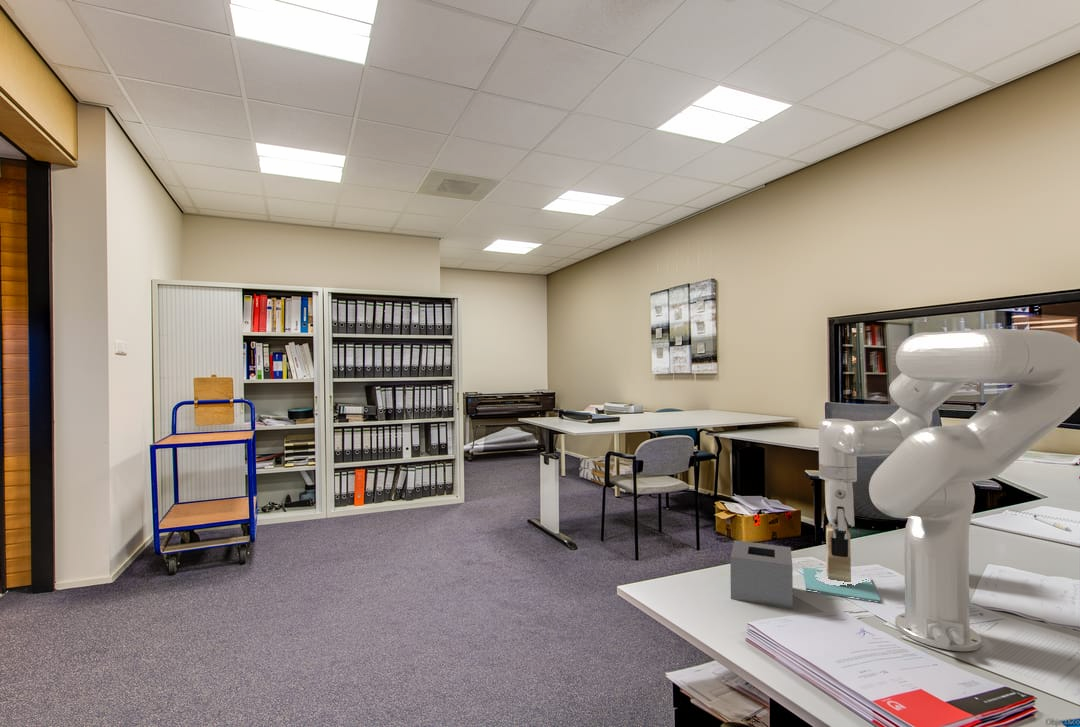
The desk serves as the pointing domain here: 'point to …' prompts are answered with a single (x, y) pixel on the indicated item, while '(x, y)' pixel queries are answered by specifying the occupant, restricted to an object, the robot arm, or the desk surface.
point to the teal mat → (840, 587)
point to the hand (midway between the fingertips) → (838, 551)
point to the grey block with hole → (762, 574)
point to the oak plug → (837, 560)
